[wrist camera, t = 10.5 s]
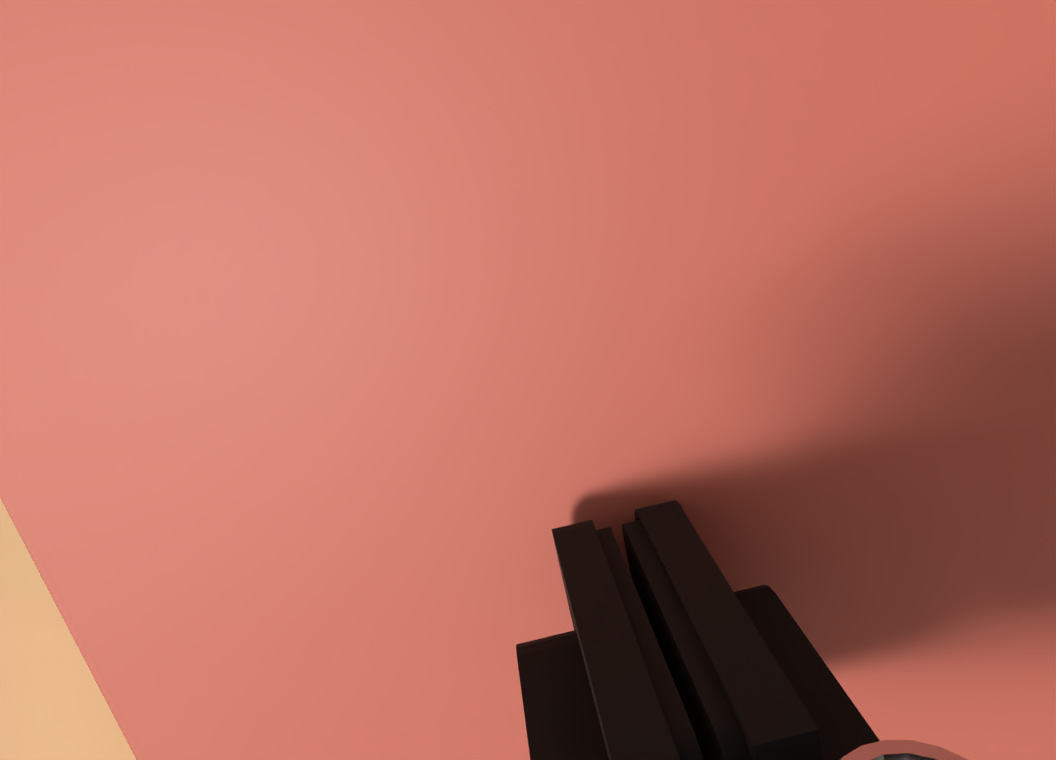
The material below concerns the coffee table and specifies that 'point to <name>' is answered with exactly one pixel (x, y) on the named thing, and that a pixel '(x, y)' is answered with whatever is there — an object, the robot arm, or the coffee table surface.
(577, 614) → the robot arm
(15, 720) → the coffee table surface
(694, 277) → the lid
